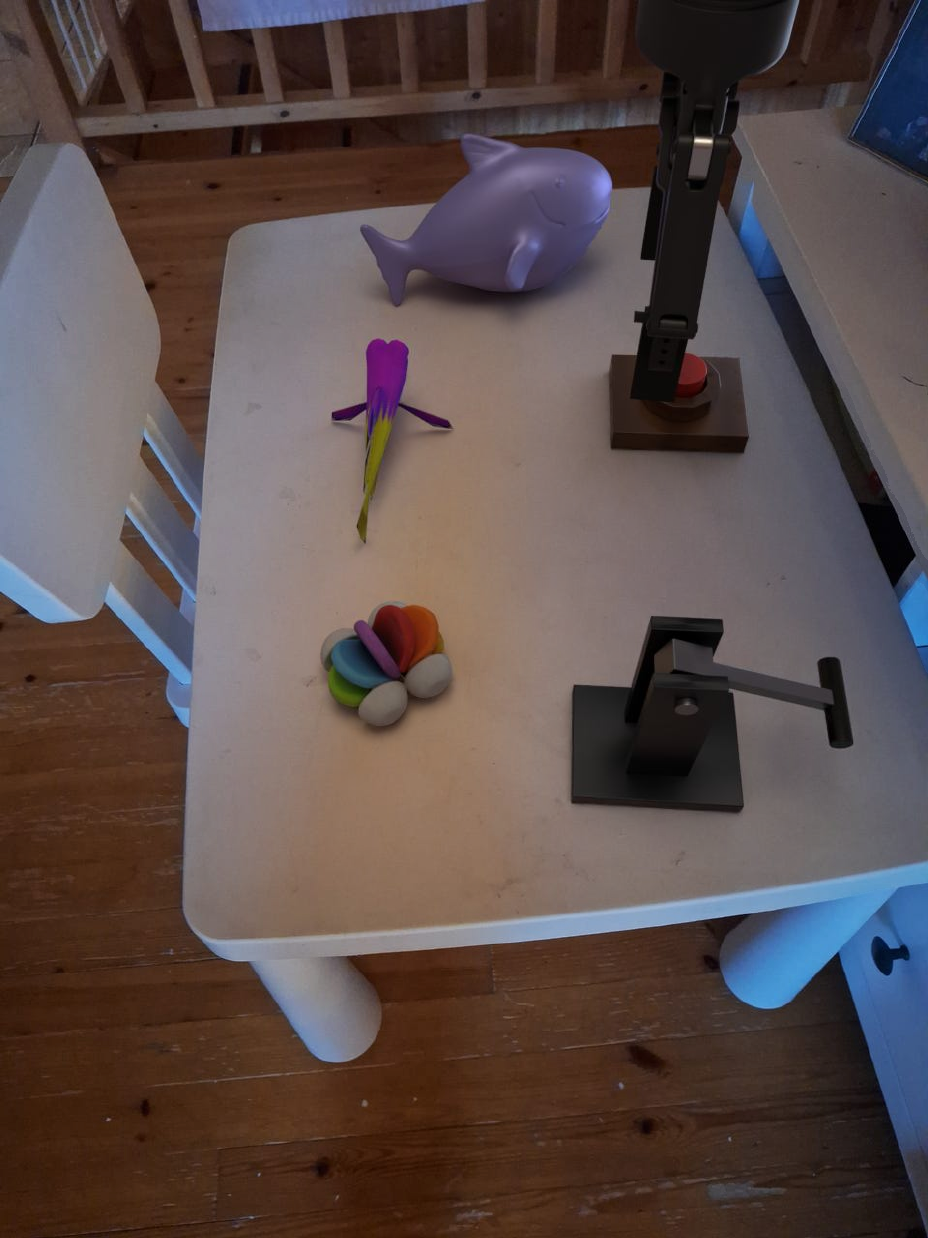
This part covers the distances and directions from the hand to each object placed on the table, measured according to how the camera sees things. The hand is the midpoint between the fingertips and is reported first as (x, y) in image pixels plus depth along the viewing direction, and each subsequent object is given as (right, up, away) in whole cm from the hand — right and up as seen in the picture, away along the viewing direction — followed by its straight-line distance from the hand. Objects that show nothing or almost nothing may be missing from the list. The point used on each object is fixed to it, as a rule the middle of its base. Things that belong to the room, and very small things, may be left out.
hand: (656, 323), depth 60 cm
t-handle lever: (+5, -24, -2) cm, 25 cm away
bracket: (+1, -29, +7) cm, 30 cm away
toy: (-20, -6, +22) cm, 31 cm away
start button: (+7, +2, +22) cm, 23 cm away
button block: (+7, 0, +25) cm, 26 cm away
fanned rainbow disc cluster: (-19, -24, +11) cm, 33 cm away
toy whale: (-10, +15, +35) cm, 39 cm away
